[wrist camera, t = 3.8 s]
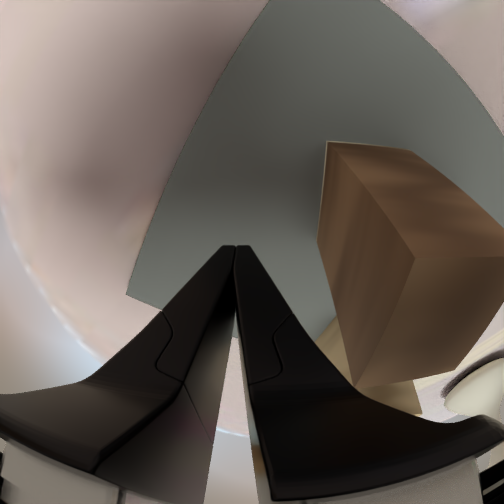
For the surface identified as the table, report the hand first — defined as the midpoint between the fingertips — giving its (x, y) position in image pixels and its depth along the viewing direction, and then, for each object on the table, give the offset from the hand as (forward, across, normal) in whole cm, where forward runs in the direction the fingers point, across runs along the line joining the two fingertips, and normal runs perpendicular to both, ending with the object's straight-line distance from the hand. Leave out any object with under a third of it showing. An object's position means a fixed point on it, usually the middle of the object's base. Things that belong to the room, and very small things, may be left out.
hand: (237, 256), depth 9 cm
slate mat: (+5, -6, +3) cm, 9 cm away
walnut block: (+5, -6, 0) cm, 7 cm away
